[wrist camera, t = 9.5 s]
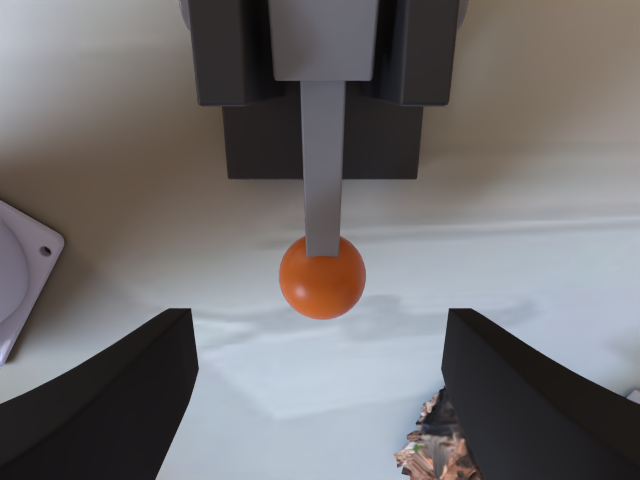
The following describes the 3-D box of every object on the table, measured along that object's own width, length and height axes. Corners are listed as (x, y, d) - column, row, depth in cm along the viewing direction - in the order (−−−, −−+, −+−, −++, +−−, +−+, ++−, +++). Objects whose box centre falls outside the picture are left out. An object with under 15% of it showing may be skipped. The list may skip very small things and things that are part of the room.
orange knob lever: (359, 273, 17) (365, 337, 15) (284, 273, 17) (278, 337, 15) (394, -91, 9) (419, -77, 7) (252, -90, 9) (228, -77, 7)
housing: (410, 173, 18) (499, 259, 9) (234, 172, 18) (146, 259, 9) (435, -134, 14) (633, -520, 5) (211, -134, 14) (18, -516, 5)
